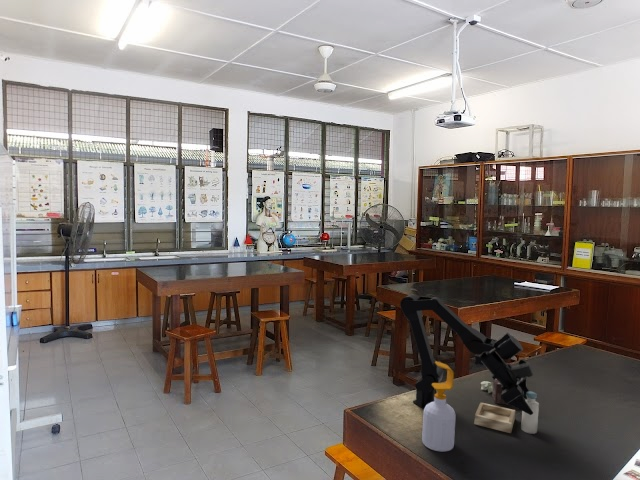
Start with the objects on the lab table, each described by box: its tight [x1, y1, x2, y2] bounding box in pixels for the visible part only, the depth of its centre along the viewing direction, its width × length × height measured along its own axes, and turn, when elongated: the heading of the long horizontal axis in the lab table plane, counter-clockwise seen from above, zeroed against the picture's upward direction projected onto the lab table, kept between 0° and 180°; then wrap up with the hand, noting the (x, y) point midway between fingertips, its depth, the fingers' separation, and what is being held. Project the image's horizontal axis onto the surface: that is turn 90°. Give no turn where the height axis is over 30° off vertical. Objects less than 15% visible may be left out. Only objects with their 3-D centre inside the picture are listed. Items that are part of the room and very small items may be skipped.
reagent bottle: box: [520, 390, 540, 435], centre depth 142 cm, size 5×5×12 cm
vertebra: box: [480, 380, 493, 394], centre depth 172 cm, size 6×7×4 cm
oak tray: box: [473, 402, 516, 434], centre depth 148 cm, size 11×11×3 cm
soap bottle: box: [421, 360, 457, 452], centre depth 132 cm, size 9×9×25 cm
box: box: [491, 378, 509, 406], centre depth 163 cm, size 6×6×7 cm
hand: (533, 408), depth 142 cm, fingers open, 9 cm apart
